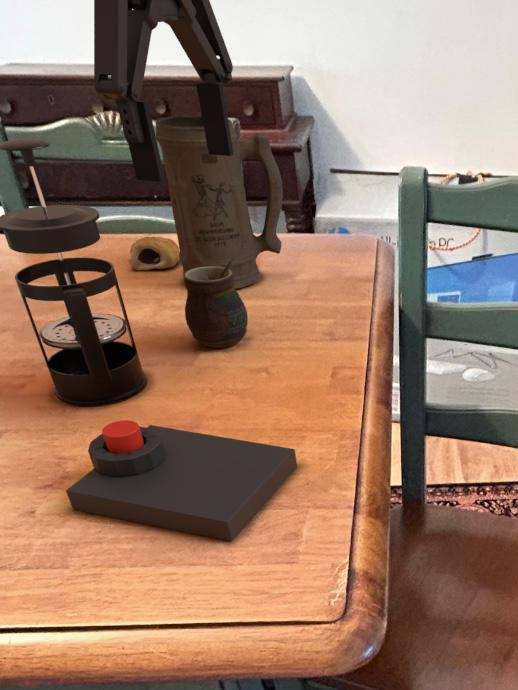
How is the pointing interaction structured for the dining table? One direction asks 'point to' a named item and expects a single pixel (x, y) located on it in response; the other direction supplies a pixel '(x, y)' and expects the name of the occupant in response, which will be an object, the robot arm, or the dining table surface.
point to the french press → (72, 298)
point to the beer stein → (217, 198)
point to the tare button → (122, 436)
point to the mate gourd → (214, 307)
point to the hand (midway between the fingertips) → (188, 167)
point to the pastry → (154, 253)
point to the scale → (183, 481)
